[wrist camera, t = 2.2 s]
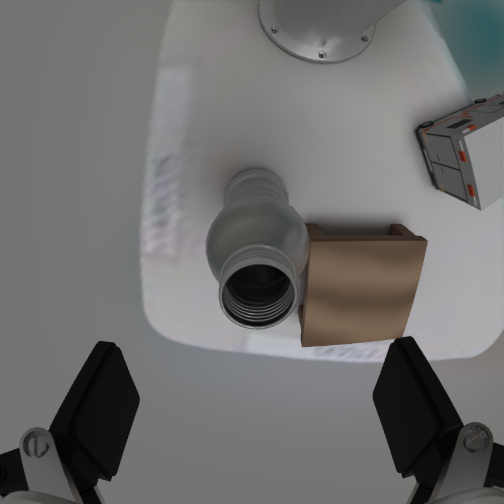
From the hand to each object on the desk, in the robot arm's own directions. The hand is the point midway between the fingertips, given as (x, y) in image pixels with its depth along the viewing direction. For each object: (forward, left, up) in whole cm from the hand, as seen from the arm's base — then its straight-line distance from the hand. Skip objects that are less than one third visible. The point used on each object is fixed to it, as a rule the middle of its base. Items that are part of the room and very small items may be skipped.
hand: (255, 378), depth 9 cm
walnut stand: (+9, +12, -24) cm, 29 cm away
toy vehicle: (-9, +27, -25) cm, 38 cm away
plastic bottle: (0, 0, -25) cm, 25 cm away
